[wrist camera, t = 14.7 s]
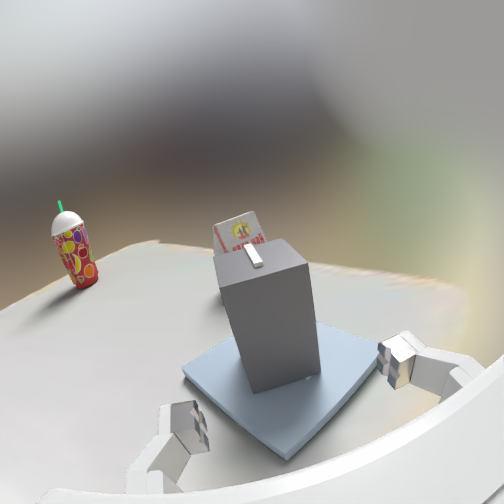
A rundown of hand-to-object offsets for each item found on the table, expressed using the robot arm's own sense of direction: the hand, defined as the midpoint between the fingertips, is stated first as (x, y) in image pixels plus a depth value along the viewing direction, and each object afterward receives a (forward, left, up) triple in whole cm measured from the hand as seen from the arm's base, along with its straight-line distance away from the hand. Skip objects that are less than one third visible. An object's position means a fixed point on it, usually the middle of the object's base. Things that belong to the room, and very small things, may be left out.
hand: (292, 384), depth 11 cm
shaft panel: (+6, +9, -10) cm, 15 cm away
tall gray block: (+6, +9, -9) cm, 14 cm away
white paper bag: (+17, +26, -10) cm, 33 cm away
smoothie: (-3, +61, -10) cm, 62 cm away
